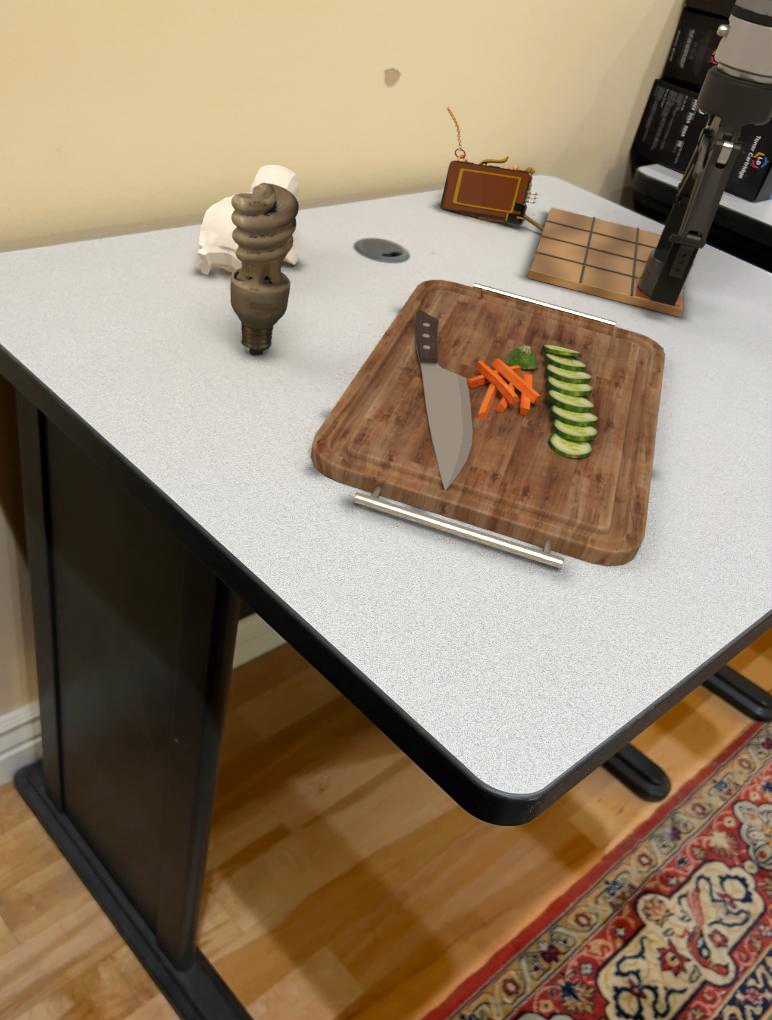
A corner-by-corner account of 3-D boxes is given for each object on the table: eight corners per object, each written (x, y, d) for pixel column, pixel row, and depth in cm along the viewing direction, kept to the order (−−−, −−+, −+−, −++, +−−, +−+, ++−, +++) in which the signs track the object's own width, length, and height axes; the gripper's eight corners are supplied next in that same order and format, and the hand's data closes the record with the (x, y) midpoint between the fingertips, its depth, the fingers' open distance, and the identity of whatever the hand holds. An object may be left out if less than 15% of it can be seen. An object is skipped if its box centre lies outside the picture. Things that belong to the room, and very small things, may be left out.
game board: (679, 246, 120) (682, 238, 119) (679, 317, 102) (684, 307, 101) (548, 214, 122) (551, 205, 121) (527, 278, 104) (530, 268, 104)
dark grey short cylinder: (679, 289, 105) (694, 255, 103) (678, 305, 102) (693, 271, 99) (638, 278, 106) (651, 244, 103) (635, 293, 102) (649, 259, 100)
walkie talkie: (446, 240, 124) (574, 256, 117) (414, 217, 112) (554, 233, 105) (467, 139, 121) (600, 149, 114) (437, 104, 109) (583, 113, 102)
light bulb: (234, 369, 80) (247, 197, 69) (213, 340, 83) (222, 172, 73) (291, 363, 82) (312, 196, 72) (268, 335, 85) (285, 171, 75)
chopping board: (632, 597, 64) (649, 565, 62) (287, 486, 68) (291, 452, 66) (662, 343, 96) (674, 316, 94) (427, 278, 100) (433, 251, 98)
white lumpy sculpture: (265, 315, 95) (321, 224, 101) (259, 252, 87) (320, 157, 93) (193, 292, 96) (254, 204, 102) (182, 228, 89) (247, 137, 95)
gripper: (707, 42, 98) (634, 237, 112) (715, 89, 80) (626, 313, 95) (776, 57, 97) (693, 252, 111) (799, 108, 79) (696, 331, 94)
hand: (662, 280), depth 103 cm, fingers open, 12 cm apart
